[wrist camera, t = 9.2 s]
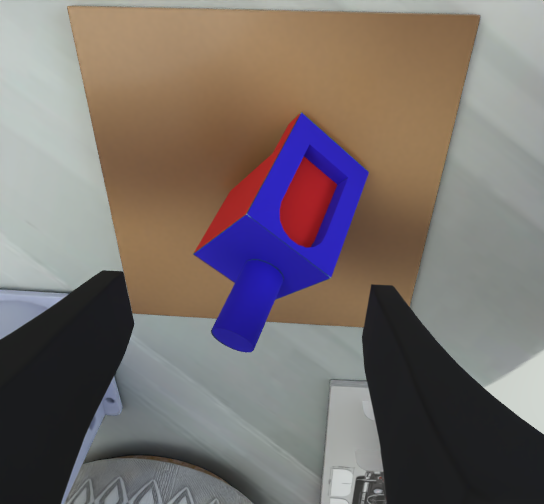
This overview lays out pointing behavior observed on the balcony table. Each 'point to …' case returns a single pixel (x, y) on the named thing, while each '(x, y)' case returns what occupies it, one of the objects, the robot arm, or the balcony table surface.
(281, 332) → the balcony table surface
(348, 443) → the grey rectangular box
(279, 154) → the toy building block
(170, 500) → the planter
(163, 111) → the cork mat
